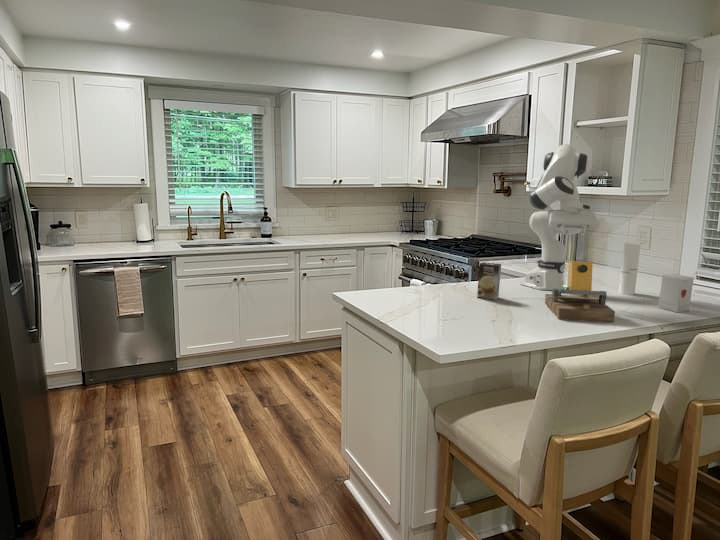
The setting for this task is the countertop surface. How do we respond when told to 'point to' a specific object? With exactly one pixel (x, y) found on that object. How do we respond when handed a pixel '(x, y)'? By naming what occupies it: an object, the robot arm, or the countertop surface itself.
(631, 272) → the cylindrical container
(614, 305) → the countertop surface
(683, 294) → the supplement box
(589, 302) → the tribrach stand
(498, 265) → the coffee box
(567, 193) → the robot arm
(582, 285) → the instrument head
